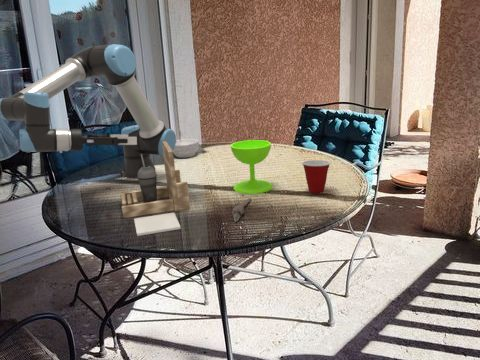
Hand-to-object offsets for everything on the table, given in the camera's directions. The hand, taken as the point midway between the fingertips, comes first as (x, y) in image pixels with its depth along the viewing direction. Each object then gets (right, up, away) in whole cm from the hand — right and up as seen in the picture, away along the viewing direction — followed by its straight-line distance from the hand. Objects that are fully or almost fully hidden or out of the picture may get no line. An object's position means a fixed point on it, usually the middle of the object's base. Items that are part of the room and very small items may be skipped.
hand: (132, 139), depth 165 cm
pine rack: (+7, -24, +8) cm, 26 cm away
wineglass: (+44, -18, +21) cm, 52 cm away
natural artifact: (+40, -26, -3) cm, 48 cm away
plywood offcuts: (-2, -25, +6) cm, 26 cm away
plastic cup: (+68, -19, +12) cm, 72 cm away
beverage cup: (+5, -25, +7) cm, 26 cm away
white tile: (+11, -30, -11) cm, 33 cm away
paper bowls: (+10, -2, +82) cm, 82 cm away
